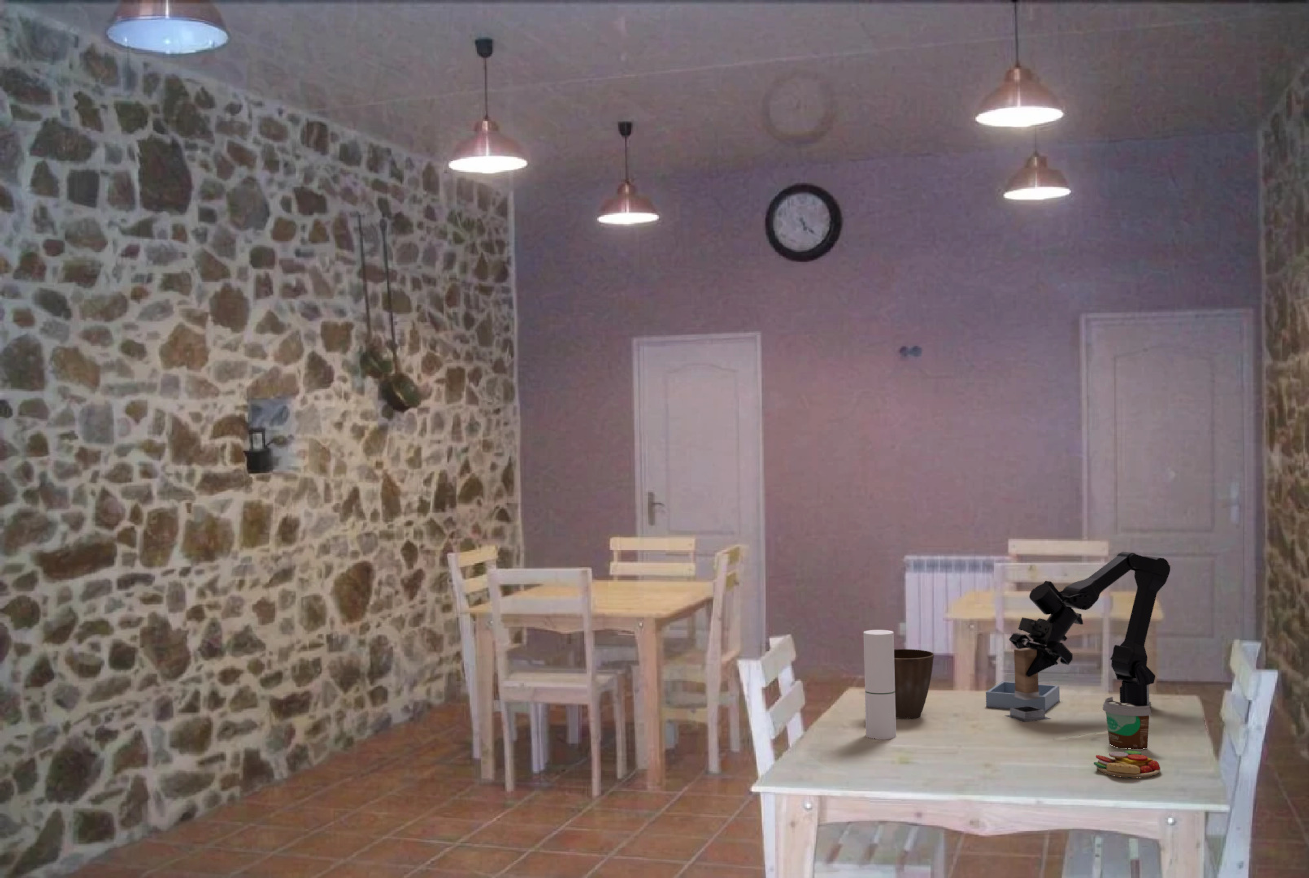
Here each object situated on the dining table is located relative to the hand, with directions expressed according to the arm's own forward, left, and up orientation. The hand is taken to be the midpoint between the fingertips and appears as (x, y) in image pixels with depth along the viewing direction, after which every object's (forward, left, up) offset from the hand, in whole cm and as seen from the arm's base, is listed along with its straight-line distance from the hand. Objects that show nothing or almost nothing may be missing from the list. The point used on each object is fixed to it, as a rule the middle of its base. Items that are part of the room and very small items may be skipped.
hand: (1021, 674), depth 324 cm
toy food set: (-32, +38, -12) cm, 51 cm away
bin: (+4, -16, -11) cm, 20 cm away
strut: (-1, -1, -6) cm, 6 cm away
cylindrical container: (+26, +30, -12) cm, 41 cm away
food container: (-27, +17, -12) cm, 34 cm away
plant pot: (+28, +7, -12) cm, 31 cm away
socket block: (-1, -1, -11) cm, 12 cm away
